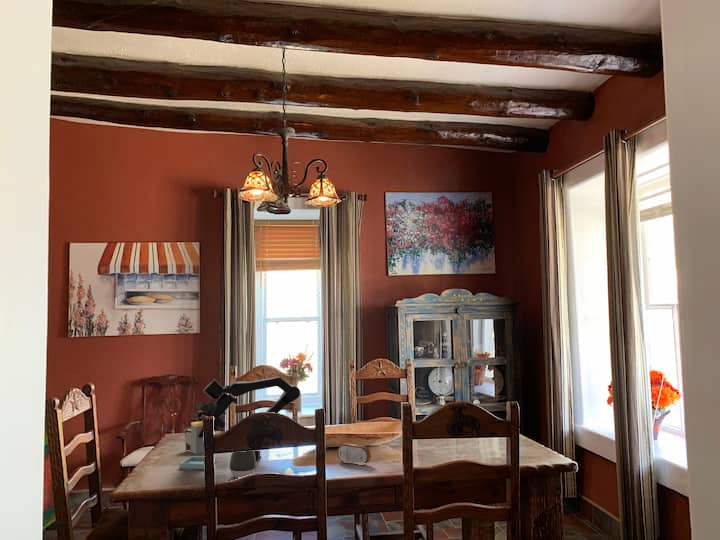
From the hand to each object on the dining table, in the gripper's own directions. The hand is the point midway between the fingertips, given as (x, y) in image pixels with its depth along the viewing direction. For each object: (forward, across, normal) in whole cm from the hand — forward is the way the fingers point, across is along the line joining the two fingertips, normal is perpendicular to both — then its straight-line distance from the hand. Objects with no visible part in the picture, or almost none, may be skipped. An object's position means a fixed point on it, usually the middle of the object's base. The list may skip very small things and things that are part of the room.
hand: (196, 436), depth 216 cm
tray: (+8, 0, +10) cm, 12 cm away
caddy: (+4, 0, +6) cm, 7 cm away
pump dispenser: (+4, +25, +15) cm, 29 cm away
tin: (-28, +40, +47) cm, 68 cm away
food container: (0, -25, +18) cm, 31 cm away
